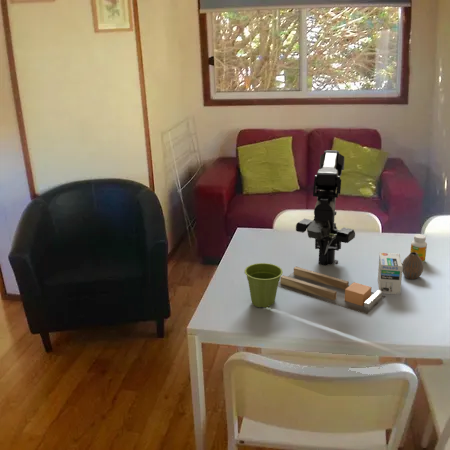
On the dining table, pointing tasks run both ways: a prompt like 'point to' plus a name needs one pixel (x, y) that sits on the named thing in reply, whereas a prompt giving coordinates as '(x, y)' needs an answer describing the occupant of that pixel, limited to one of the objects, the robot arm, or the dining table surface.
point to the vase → (412, 266)
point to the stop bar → (372, 300)
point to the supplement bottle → (419, 246)
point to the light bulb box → (390, 273)
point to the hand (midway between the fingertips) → (323, 254)
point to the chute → (320, 288)
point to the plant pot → (263, 283)
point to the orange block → (357, 293)
